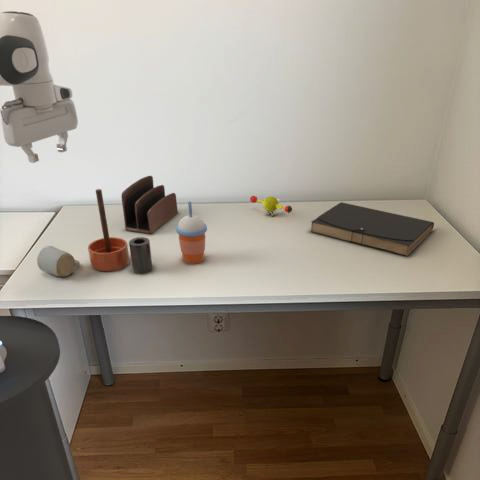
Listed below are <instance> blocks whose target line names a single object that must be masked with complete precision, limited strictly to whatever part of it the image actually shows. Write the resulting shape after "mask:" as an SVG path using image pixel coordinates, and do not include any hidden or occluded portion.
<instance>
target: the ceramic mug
mask: <svg viewBox="0 0 480 480" xmlns="http://www.w3.org/2000/svg"><path fill="white" fill-rule="evenodd" d="M36 262H37V266H38V268H39V270H40V271H42V272H44V273H47V274H50V275H54V276H56V277H59V278H66V277H68V276H70V275H71V274H73V272H74V270H75V268H79V267H80V261H79V260H78V259H75V257H74V256H73V255H72V254H71V253H69V252H68V251H66V250H63V249H61V248H57V247H55V246H52V245H47V246H43V247H42V248H41V249H40V251H39V252H38V254H37V257H36Z"/></svg>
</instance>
